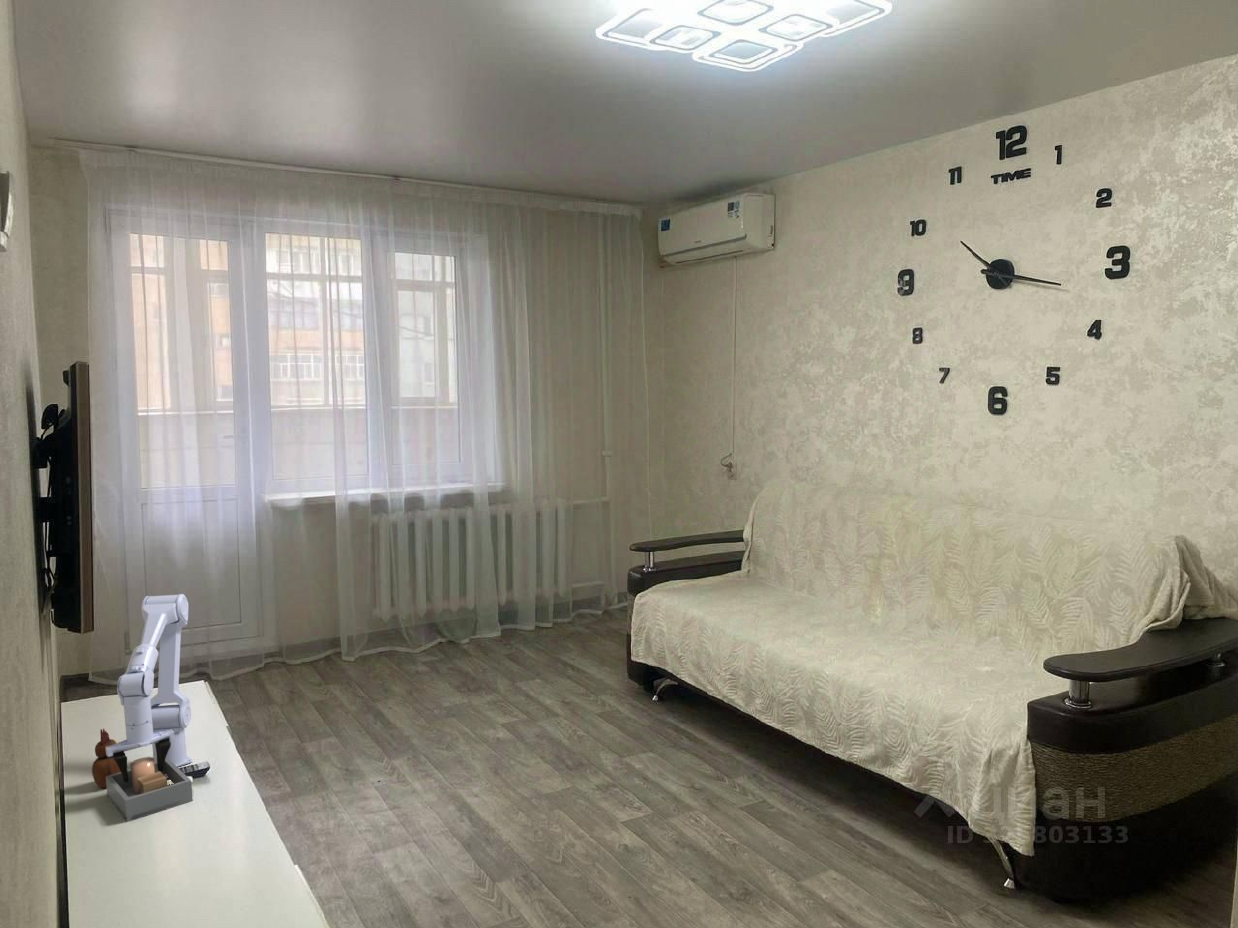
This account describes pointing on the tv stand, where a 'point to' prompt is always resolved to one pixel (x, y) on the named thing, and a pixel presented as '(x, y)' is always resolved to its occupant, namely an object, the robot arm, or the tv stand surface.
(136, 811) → the tote
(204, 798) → the tv stand surface
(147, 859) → the tv stand surface
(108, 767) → the wooden figurine
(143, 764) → the terracotta cylinder
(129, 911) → the tv stand surface
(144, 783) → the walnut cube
